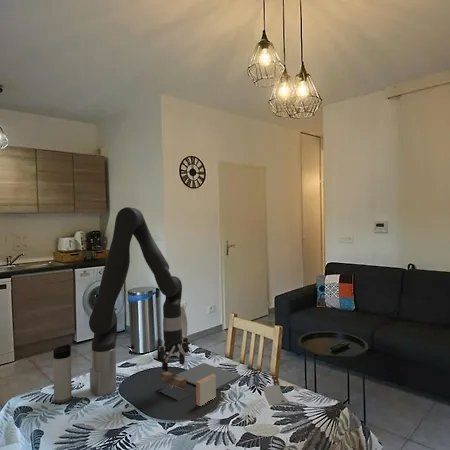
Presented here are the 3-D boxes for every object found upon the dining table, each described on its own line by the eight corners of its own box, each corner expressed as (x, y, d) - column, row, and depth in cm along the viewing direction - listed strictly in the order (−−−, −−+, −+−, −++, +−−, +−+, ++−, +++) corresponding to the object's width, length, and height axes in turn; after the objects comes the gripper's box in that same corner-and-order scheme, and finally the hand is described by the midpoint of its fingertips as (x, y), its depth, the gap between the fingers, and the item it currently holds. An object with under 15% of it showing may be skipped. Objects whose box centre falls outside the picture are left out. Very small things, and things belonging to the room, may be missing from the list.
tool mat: (211, 393, 144) (211, 390, 144) (174, 377, 158) (174, 375, 158) (240, 378, 157) (240, 375, 157) (203, 364, 172) (203, 362, 172)
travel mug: (76, 396, 142) (75, 345, 142) (62, 404, 136) (61, 351, 136) (64, 393, 145) (63, 343, 144) (50, 401, 139) (49, 349, 138)
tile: (199, 407, 133) (199, 383, 133) (196, 405, 134) (196, 381, 134) (216, 398, 140) (216, 375, 140) (212, 396, 141) (212, 373, 141)
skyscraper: (192, 355, 184) (191, 300, 183) (177, 359, 179) (177, 303, 179) (184, 350, 191) (183, 297, 190) (170, 354, 186) (169, 299, 186)
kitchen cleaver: (258, 375, 158) (281, 374, 158) (258, 378, 158) (281, 376, 158) (262, 405, 134) (289, 403, 134) (262, 407, 134) (289, 406, 134)
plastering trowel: (156, 391, 146) (156, 374, 146) (170, 385, 151) (170, 369, 151) (178, 401, 138) (178, 384, 138) (192, 394, 143) (191, 377, 143)
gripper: (179, 321, 153) (180, 359, 153) (152, 330, 142) (153, 371, 142) (192, 324, 148) (193, 364, 148) (164, 333, 137) (166, 376, 137)
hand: (173, 367), depth 145 cm, fingers open, 8 cm apart
